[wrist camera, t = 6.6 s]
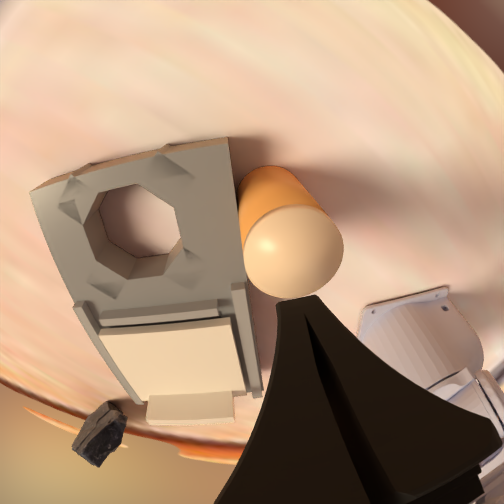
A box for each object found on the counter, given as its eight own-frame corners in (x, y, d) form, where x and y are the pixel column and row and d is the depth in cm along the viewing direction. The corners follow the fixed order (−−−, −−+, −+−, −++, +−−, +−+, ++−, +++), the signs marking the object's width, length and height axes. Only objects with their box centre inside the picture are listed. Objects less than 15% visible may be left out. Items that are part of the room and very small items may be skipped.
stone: (123, 428, 31) (114, 490, 22) (82, 414, 29) (68, 475, 21) (135, 381, 25) (120, 469, 17) (80, 362, 24) (53, 446, 15)
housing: (227, 133, 15) (227, 141, 12) (260, 368, 25) (264, 398, 22) (48, 176, 15) (19, 194, 12) (139, 378, 25) (134, 406, 22)
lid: (230, 317, 18) (232, 355, 15) (246, 388, 22) (249, 420, 19) (101, 328, 18) (87, 363, 15) (142, 394, 22) (138, 424, 19)
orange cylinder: (300, 162, 16) (345, 204, 10) (302, 223, 18) (340, 290, 12) (232, 170, 16) (237, 217, 10) (240, 231, 18) (250, 304, 12)
